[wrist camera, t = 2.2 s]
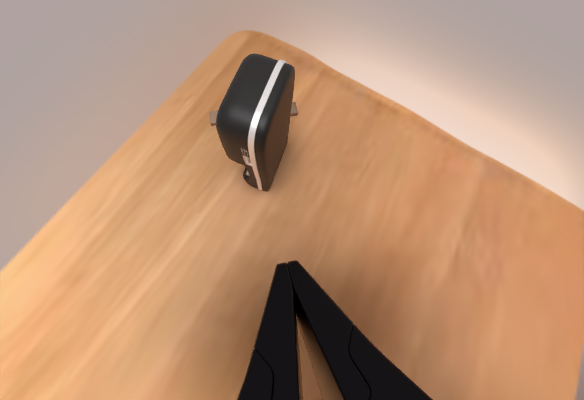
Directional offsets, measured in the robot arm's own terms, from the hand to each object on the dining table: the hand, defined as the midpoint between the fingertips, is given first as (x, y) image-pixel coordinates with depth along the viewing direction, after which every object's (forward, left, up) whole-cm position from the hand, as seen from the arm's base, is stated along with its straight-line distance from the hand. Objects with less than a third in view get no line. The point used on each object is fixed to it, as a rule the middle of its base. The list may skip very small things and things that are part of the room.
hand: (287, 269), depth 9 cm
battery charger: (+5, -10, -14) cm, 18 cm away
